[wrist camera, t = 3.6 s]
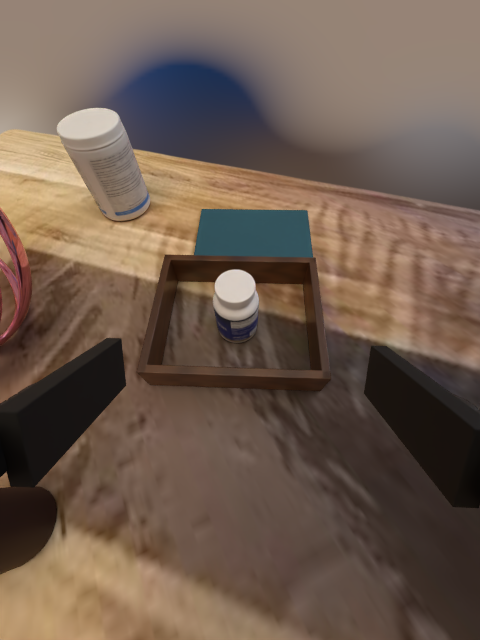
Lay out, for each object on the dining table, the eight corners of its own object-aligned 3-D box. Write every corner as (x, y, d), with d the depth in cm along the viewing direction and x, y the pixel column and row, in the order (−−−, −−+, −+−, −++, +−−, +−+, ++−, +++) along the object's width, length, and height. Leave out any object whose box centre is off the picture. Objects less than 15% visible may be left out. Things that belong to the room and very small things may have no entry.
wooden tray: (308, 279, 43) (315, 257, 39) (320, 391, 34) (331, 379, 30) (172, 276, 44) (164, 254, 40) (149, 384, 35) (136, 372, 31)
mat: (306, 212, 51) (307, 210, 51) (312, 260, 45) (313, 258, 45) (202, 211, 52) (201, 208, 51) (194, 258, 46) (193, 256, 45)
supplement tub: (158, 193, 55) (131, 108, 42) (141, 226, 50) (105, 140, 37) (113, 189, 56) (73, 104, 43) (93, 220, 51) (42, 136, 38)
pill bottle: (213, 316, 40) (204, 272, 31) (249, 305, 41) (250, 260, 32) (224, 349, 37) (218, 312, 29) (263, 337, 38) (268, 297, 29)
